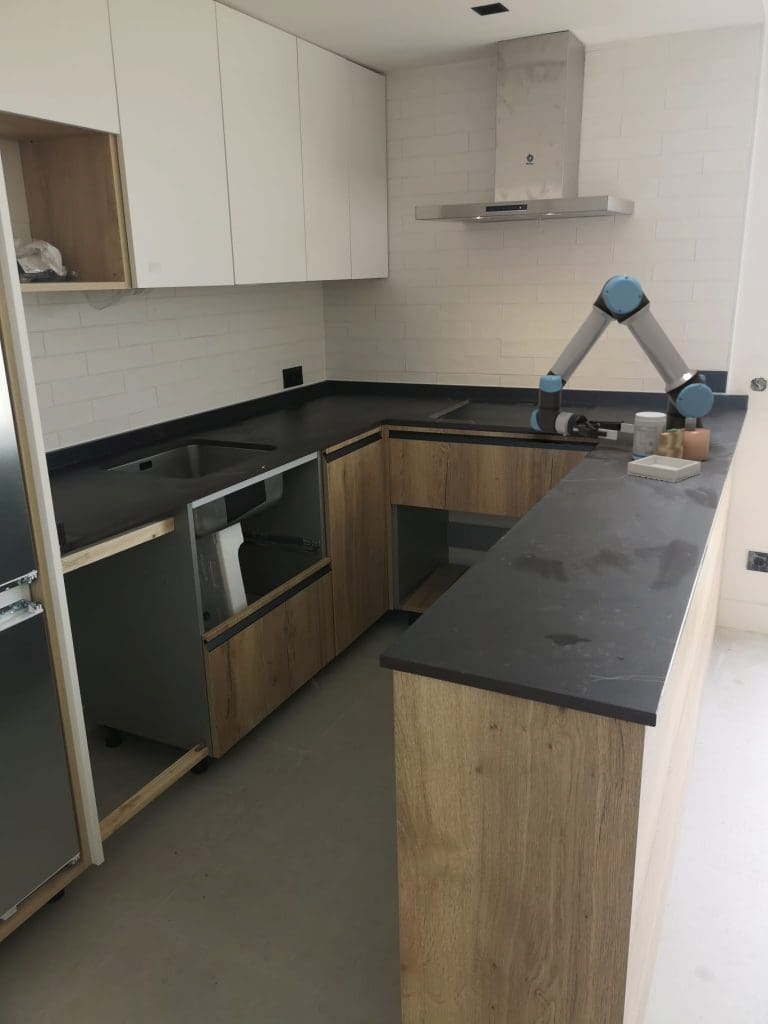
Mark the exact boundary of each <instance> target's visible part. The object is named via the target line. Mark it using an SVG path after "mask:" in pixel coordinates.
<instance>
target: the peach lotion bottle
mask: <svg viewBox="0 0 768 1024" xmlns="http://www.w3.org/2000/svg"><path fill="white" fill-rule="evenodd" d="M696 419H697V418H694V417H686V420H685V428H682V429H684V430H685V433H684V444H683V455H682V459H684V460H690V461H696V462H703V461H702V460H705V461H707V460H708V458H709V450H710V449H709V448H710V441H711V440H710V438H711V430H710V429H707V428H704V429H702V428H696Z"/></svg>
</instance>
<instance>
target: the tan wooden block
mask: <svg viewBox="0 0 768 1024" xmlns="http://www.w3.org/2000/svg"><path fill="white" fill-rule="evenodd" d="M684 433H685V430H684V429H670V430H667V432H665V433H662V434H659V446H658V456H665V457H671V458H677V459H682V455H683V444H684Z"/></svg>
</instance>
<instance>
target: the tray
mask: <svg viewBox="0 0 768 1024" xmlns="http://www.w3.org/2000/svg"><path fill="white" fill-rule="evenodd" d="M701 463H702V461H690V460H684V459H677V458H671V457H665V456H658V455H652V456H648V457H645V458H642V459H639V460H633V461H630V462H628V463H627V474H626V475H628V474H629V475H630V476H634V475H635V476H634V477H639V476H641V477H640V478H645V477H647V479H650V478H652V479H651V480H656V479H657V480H658V481H661V480H663V481H662V482H667V481H668V483H672V484H675V482H676V483H678V482H680V481H684V480H686V478H687V479H689V478H688V477H690V478H692V477H694V475H695V476H697V474H698V475H700V474H701V466H702V465H701ZM629 475H628V476H629ZM691 476H692V477H691ZM683 479H684V480H683ZM657 480H656V481H657Z"/></svg>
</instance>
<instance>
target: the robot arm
mask: <svg viewBox="0 0 768 1024" xmlns="http://www.w3.org/2000/svg"><path fill="white" fill-rule="evenodd" d="M650 306H651V301H650V300H649V298H648V297H647V295H646V293H645V292H644V291H643V289H642V286H641V284H640V282H639V281H638V279H636V278H635V277H633V276H631V275H629V274H621V275H620V274H619V275H615V276H613V277H611V278H610V279H608V280H607V281H606V282H605V283H604V284H603V287H602V289H601V290H600V293H599V295H598V296H597V297H596V300H595V301H594V302H593V304H592V310H591V311H590V313H589V314H588V316H587V317H586V318H585V320H584V321H583V323H582V324H581V326H580V327H579V329H577V332H576V333H575V334H574V336H573V337H572V338H571V340H570V341H569V343H568V344H567V346H566V347H565V348H564V350H562V352H561V353H560V355H559V356H558V358H557V360H555V362H554V363H553V365H552V366H551V368H550V370H549V371H548V372H547V373H546V374H545V375H542V376H541V377H540V378H539V383H538V408H537V409H535V410H534V411H532V414H531V417H530V425H531V427H532V428H533V429H534V430H535V431H539V432H543V433H552V434H559V435H563V437H566V436H571V437H577V438H581V437H587V438H591V439H593V440H597V439H598V438H599V439H605V440H607V439H608V440H613V441H617V440H618V431H620V432H622V433H629V434H634V424H631V423H625V422H624V420H620V421H610V420H609V421H608V420H597V419H596V420H589V421H588V418H587V416H586V415H584V414H578V413H573V412H564V411H561V402H562V390H563V388H564V387H565V386H566V384H568V382H569V380H570V379H571V377H572V376H573V374H574V373H575V372H576V370H577V369H578V368H579V366H580V365H581V364H582V362H583V361H584V360H585V358H586V357H587V355H588V354H589V353H590V351H591V350H592V349H593V347H594V346H595V344H596V343H597V342H598V340H599V339H600V337H602V335H603V334H604V332H605V331H606V329H607V328H608V327H609V325H610V324H611V323H613V322H616V321H617V323H618V324H619V325H623V326H626V327H627V329H628V331H629V332H630V333H631V334H632V336H633V337H634V340H636V342H637V343H638V346H640V348H641V349H642V351H643V353H644V354H645V355H646V357H647V358H648V360H649V361H650V363H651V364H652V366H653V367H654V369H655V370H656V372H657V373H658V374H659V376H660V378H661V379H662V380H663V382H664V383H665V387H664V392H665V393H666V394H667V410H666V432H667V430H670V429H682V428H685V420H686V417H694V418H697V419H696V428H702V429H705V428H704V423H703V419H702V417H704V416H705V415H707V414H708V413H709V412H710V411H711V410H712V408H713V405H714V401H715V400H714V399H715V397H714V393H713V390H712V388H711V387H709V386H708V385H707V384H706V376H705V375H704V374H699V372H698V371H697V370H696V369H691V368H690V367H689V366H688V365H687V364H686V362H685V360H684V359H683V358H682V356H681V354H680V353H679V351H678V350H677V348H676V347H675V346H674V344H673V343H672V341H671V339H670V338H669V337H668V336H667V334H666V332H665V331H664V329H663V328H662V327H661V325H660V323H659V322H658V321H657V319H656V318H655V316H654V314H653V313H652V312H651V310H650Z"/></svg>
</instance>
